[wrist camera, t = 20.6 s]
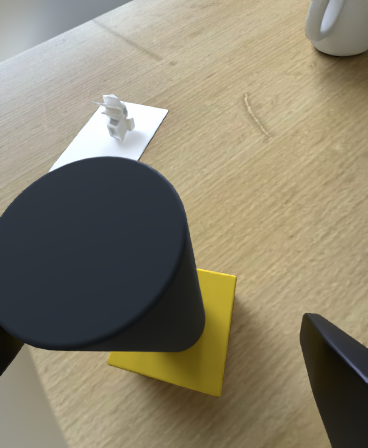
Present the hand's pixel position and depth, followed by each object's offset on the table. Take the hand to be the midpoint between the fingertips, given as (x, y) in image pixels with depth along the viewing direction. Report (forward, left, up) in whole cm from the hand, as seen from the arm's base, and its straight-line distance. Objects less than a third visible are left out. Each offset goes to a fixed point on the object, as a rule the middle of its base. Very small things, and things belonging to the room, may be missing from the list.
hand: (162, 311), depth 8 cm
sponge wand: (0, 0, -7) cm, 7 cm away
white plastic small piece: (+14, +10, -7) cm, 19 cm away
